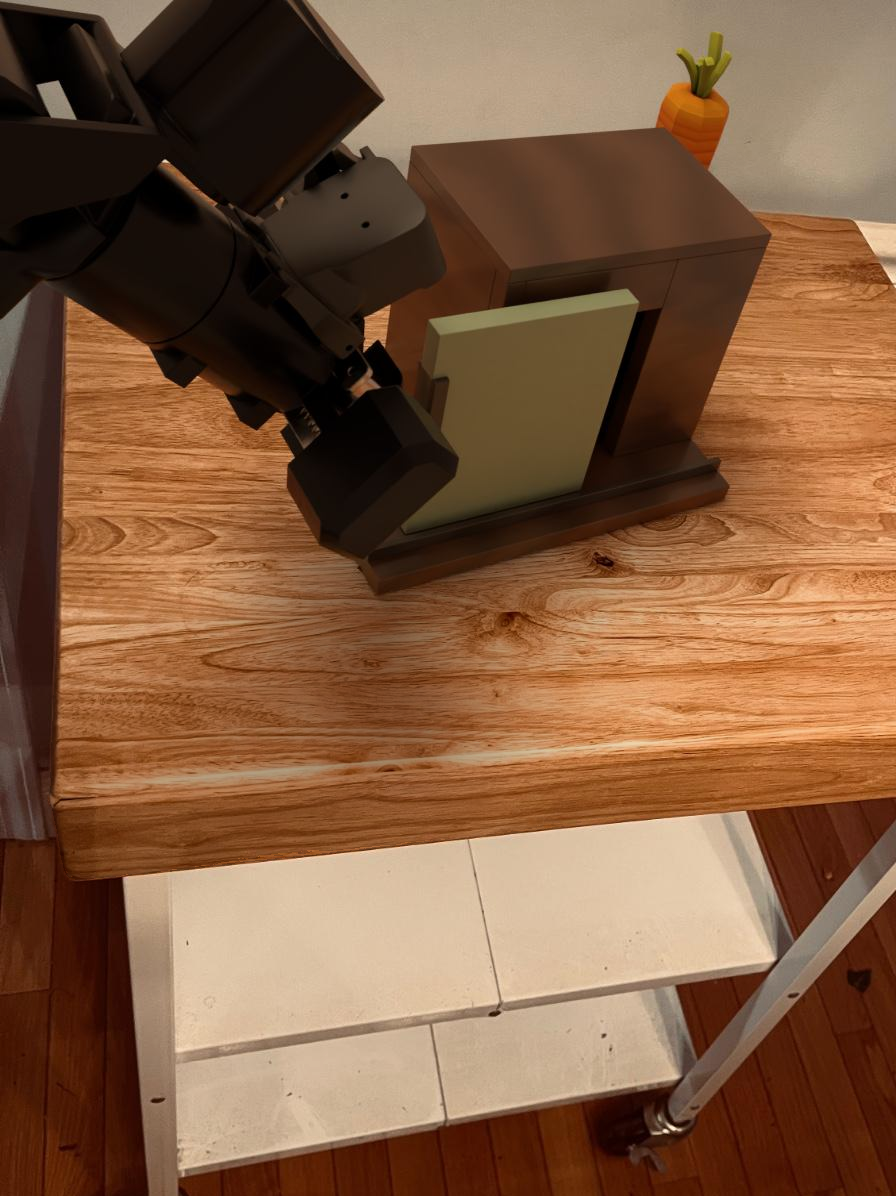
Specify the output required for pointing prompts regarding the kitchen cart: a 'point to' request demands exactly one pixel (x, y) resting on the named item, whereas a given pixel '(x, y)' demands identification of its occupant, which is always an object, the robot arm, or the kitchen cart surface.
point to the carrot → (698, 103)
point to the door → (519, 399)
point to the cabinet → (574, 268)
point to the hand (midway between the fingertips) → (410, 436)
